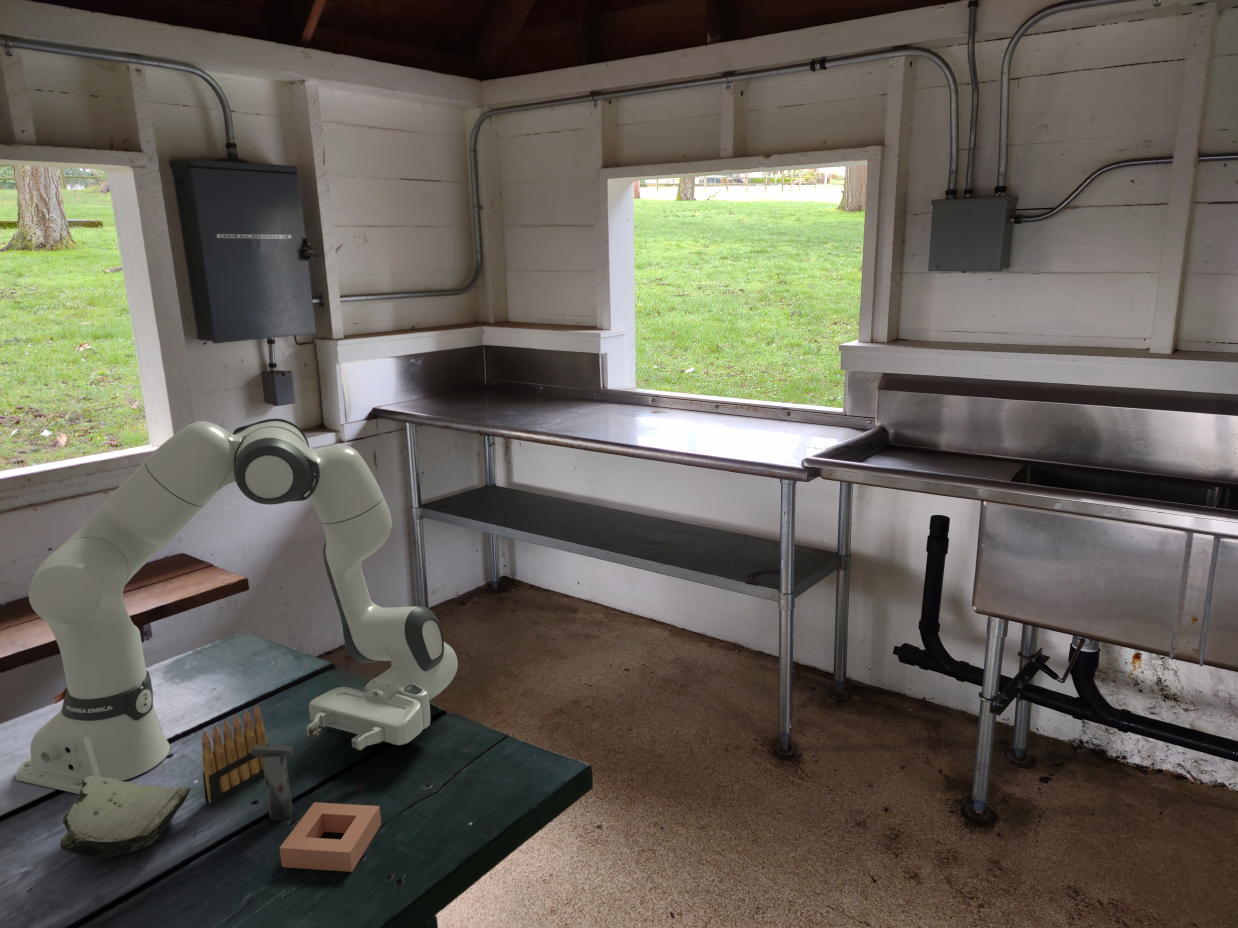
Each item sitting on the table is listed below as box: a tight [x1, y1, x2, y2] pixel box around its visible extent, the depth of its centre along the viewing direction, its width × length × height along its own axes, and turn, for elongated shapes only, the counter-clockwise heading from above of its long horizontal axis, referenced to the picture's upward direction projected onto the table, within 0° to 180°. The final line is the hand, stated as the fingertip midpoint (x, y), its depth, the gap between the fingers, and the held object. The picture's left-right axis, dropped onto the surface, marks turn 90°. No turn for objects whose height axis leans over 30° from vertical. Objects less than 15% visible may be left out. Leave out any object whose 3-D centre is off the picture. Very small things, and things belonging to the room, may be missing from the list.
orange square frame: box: [278, 801, 382, 873], centre depth 119 cm, size 10×10×3 cm
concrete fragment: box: [59, 775, 191, 858], centre depth 120 cm, size 15×10×15 cm
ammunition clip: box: [201, 704, 269, 807], centre depth 132 cm, size 11×2×12 cm, turn 148°
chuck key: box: [251, 744, 296, 822], centre depth 125 cm, size 6×3×11 cm, turn 83°
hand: (332, 738), depth 135 cm, fingers open, 8 cm apart
